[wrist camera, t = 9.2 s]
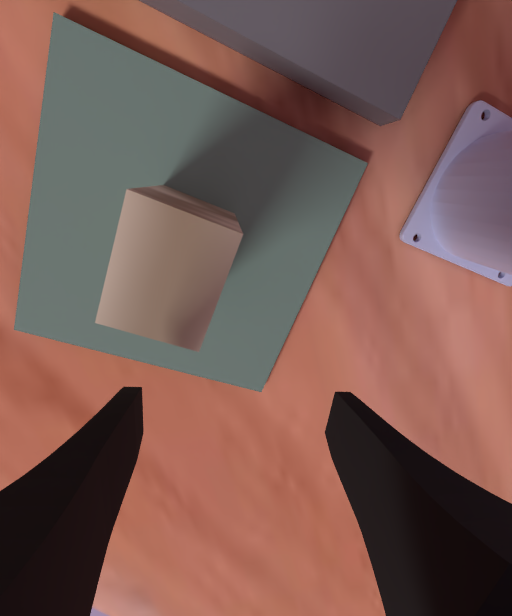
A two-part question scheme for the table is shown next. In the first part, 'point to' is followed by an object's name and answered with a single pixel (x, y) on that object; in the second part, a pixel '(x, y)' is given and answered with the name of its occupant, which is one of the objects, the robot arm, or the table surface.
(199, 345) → the birch block
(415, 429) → the table surface
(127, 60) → the rubber mat
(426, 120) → the table surface
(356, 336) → the table surface
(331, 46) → the pocket plate
